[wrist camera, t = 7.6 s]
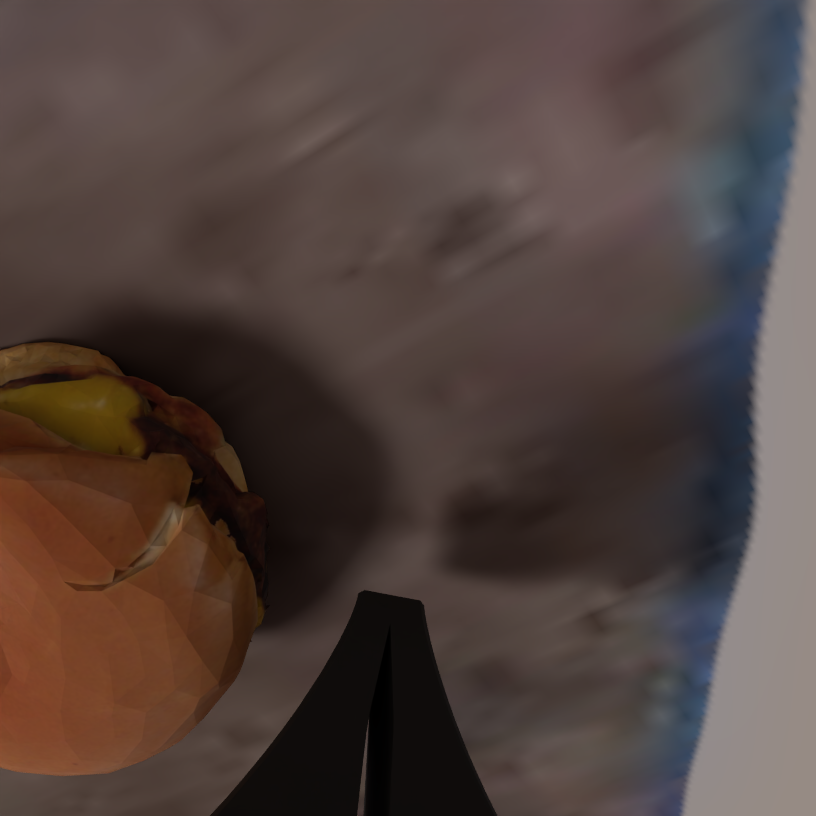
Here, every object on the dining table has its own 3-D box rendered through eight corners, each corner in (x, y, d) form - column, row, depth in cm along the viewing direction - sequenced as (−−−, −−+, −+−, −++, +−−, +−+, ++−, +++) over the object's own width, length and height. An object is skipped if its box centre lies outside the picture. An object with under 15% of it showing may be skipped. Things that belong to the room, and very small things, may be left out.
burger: (21, 659, 16) (-128, 833, 12) (-160, 373, 13) (-465, 477, 8) (337, 630, 15) (296, 811, 11) (237, 305, 11) (116, 385, 7)
